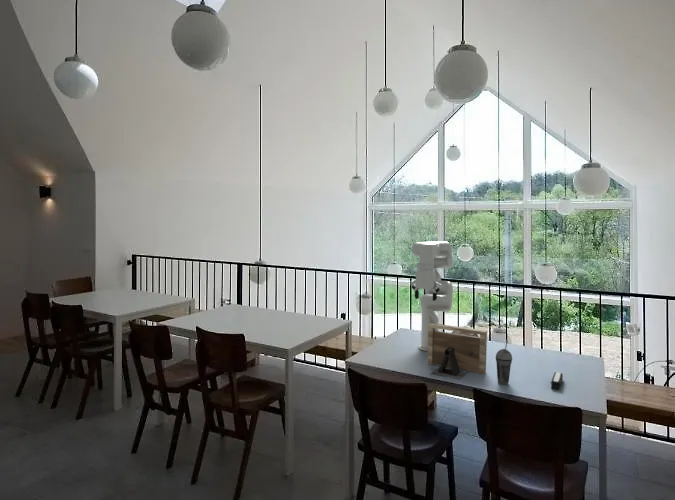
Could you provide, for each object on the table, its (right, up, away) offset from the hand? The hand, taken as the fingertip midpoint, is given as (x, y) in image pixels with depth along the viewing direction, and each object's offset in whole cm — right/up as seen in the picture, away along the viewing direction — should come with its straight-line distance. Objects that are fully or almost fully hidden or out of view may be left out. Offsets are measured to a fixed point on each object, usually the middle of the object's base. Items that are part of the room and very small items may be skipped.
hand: (425, 299), depth 239 cm
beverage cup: (+29, -35, -31) cm, 55 cm away
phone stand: (+8, -33, -18) cm, 39 cm away
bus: (+55, -36, -31) cm, 73 cm away
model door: (+9, -33, -16) cm, 38 cm away
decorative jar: (+20, -33, 0) cm, 38 cm away
